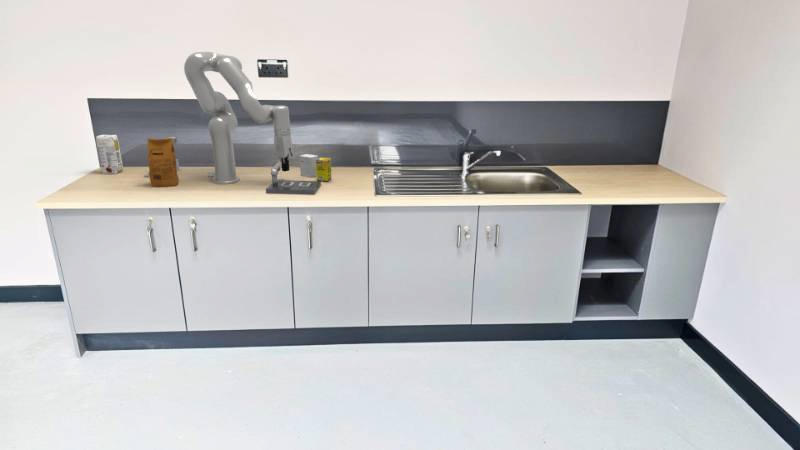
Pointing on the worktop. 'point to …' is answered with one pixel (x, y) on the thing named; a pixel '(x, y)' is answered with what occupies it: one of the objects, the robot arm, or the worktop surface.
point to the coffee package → (162, 162)
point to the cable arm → (276, 168)
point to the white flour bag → (109, 154)
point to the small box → (308, 165)
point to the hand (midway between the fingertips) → (285, 170)
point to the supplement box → (323, 169)
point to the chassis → (293, 187)
